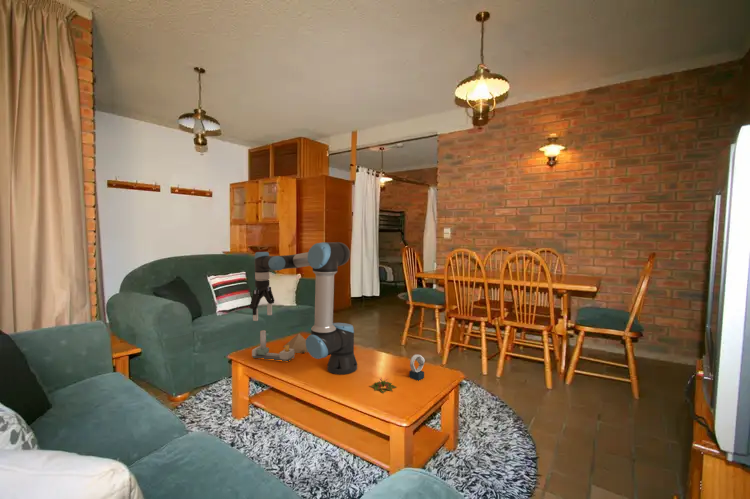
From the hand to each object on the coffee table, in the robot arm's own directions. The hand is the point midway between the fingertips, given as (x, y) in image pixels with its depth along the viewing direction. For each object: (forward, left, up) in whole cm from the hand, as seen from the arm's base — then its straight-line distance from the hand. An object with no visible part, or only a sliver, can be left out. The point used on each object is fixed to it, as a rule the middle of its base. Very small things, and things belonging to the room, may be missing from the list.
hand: (262, 317), depth 186 cm
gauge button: (-10, -10, -18) cm, 23 cm away
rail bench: (-4, -4, -22) cm, 23 cm away
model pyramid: (+3, -22, -23) cm, 32 cm away
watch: (-65, -57, -23) cm, 90 cm away
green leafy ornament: (-65, -38, -23) cm, 79 cm away
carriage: (0, 0, -20) cm, 20 cm away
